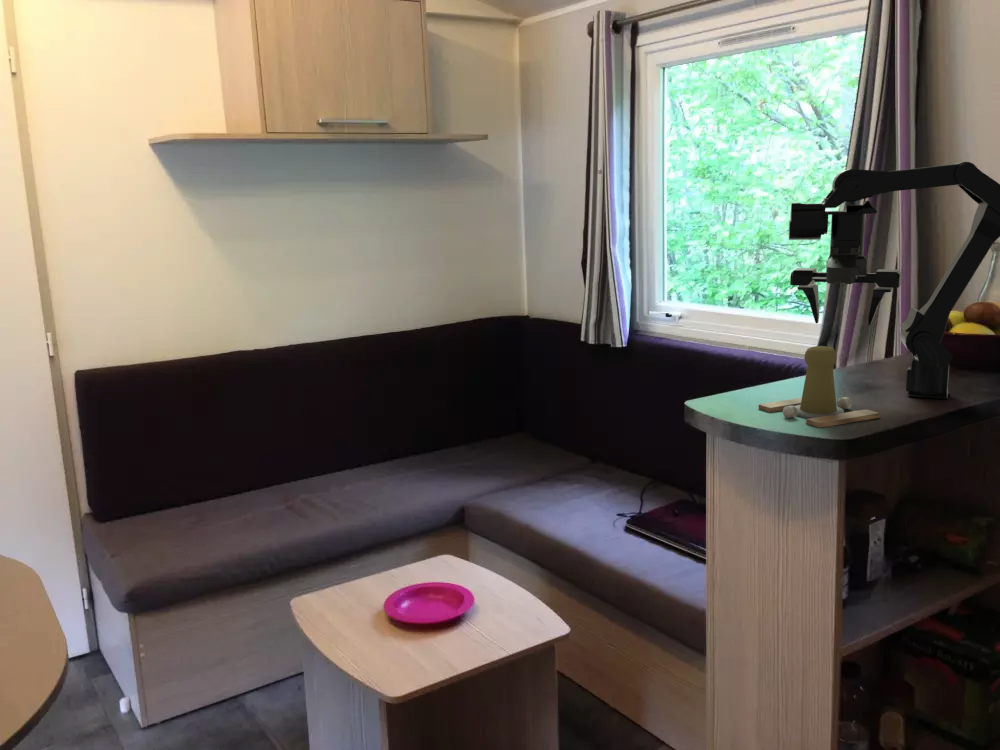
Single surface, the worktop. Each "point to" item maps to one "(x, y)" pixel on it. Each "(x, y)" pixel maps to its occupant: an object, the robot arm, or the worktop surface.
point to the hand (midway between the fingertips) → (842, 324)
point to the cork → (819, 381)
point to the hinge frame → (820, 420)
